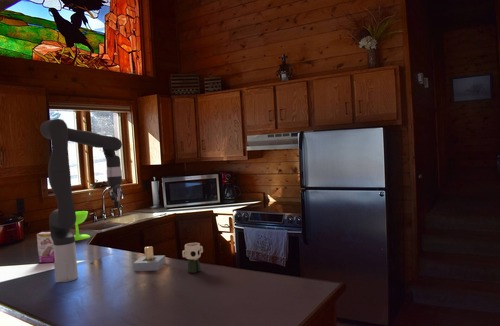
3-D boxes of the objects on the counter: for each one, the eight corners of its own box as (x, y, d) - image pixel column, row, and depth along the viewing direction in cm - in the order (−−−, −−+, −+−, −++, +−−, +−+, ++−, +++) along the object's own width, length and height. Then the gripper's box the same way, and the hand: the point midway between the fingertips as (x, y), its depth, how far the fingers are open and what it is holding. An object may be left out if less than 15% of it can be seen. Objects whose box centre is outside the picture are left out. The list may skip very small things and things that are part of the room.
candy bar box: (38, 263, 220) (35, 234, 220) (43, 260, 225) (41, 232, 225) (57, 262, 219) (54, 233, 218) (62, 260, 224) (60, 231, 223)
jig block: (157, 270, 192) (157, 262, 192) (134, 271, 193) (133, 263, 193) (165, 263, 204) (165, 255, 204) (143, 263, 205) (142, 256, 205)
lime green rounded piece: (60, 240, 277) (58, 215, 276) (76, 235, 292) (74, 211, 292) (79, 241, 273) (77, 215, 272) (94, 235, 288) (92, 211, 287)
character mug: (188, 276, 180) (186, 248, 179) (180, 273, 185) (178, 245, 185) (208, 270, 187) (206, 243, 186) (200, 267, 192) (198, 241, 192)
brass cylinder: (152, 268, 196) (151, 248, 196) (144, 268, 197) (143, 248, 196) (155, 265, 200) (153, 246, 200) (147, 266, 201) (146, 246, 200)
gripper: (115, 176, 203) (118, 209, 203) (126, 174, 216) (128, 205, 217) (101, 177, 204) (104, 210, 204) (113, 175, 217) (115, 206, 217)
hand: (117, 208), depth 210 cm, fingers closed
